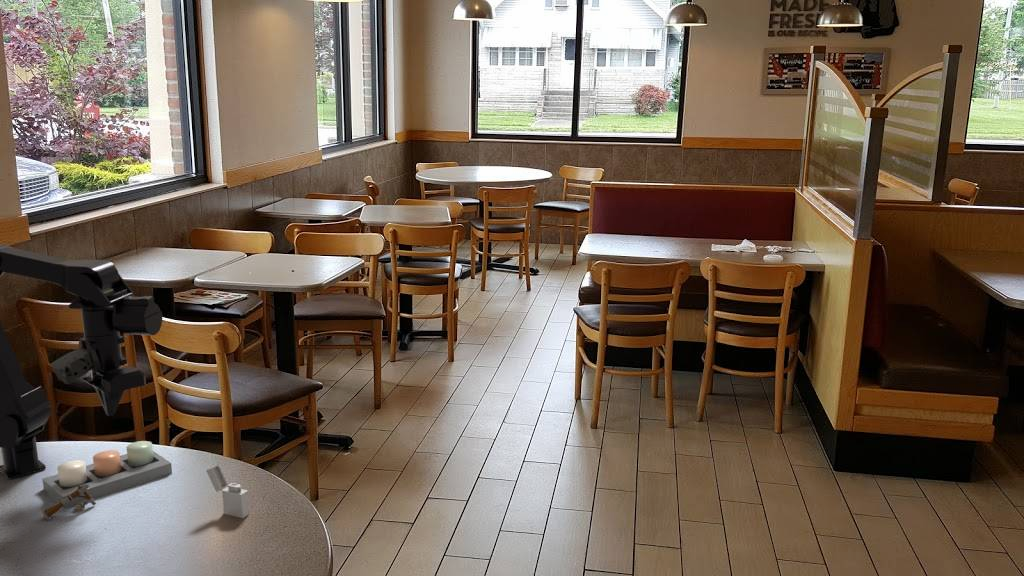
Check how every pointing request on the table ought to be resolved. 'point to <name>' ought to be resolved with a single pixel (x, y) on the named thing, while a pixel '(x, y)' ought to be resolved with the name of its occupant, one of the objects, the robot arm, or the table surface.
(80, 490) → the wooden post with brackets
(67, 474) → the cream button
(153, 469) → the button panel
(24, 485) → the table surface
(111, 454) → the terracotta button
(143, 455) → the sage button
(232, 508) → the lighter
